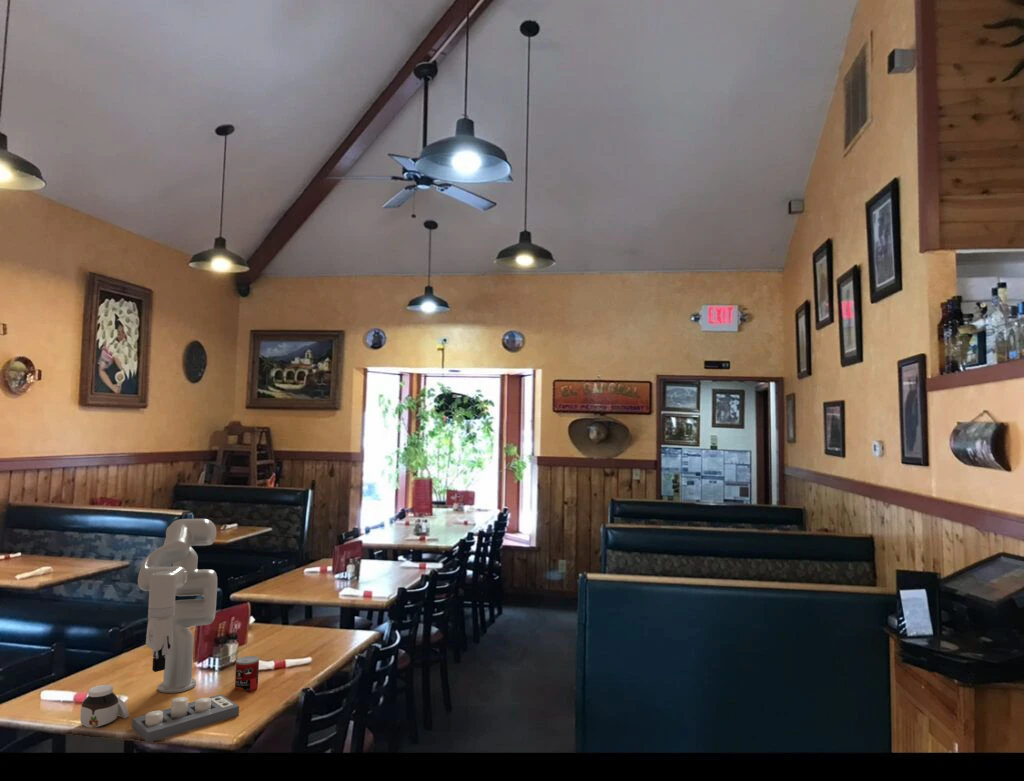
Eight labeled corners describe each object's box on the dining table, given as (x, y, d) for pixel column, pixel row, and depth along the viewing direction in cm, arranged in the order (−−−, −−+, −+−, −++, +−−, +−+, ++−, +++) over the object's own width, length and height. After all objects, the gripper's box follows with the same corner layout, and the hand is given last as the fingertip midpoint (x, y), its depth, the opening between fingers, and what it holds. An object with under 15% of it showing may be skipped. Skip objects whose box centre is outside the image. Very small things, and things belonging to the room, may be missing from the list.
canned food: (230, 691, 243) (231, 661, 244) (246, 684, 250) (247, 654, 251) (246, 695, 240) (247, 664, 241) (262, 687, 247) (263, 657, 248)
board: (131, 731, 210) (132, 717, 210) (220, 706, 230) (221, 693, 231) (147, 746, 200) (148, 731, 201) (238, 718, 221) (239, 704, 221)
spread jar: (75, 729, 211) (77, 691, 211) (102, 714, 222) (104, 679, 223) (108, 733, 209) (110, 695, 209) (134, 718, 220) (136, 681, 220)
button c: (142, 730, 208) (143, 713, 208) (158, 725, 212) (159, 709, 212) (148, 735, 205) (148, 718, 205) (164, 730, 208) (165, 713, 209)
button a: (192, 715, 219) (192, 700, 219) (206, 711, 222) (207, 696, 223) (197, 720, 216) (198, 704, 216) (212, 716, 219) (213, 700, 219)
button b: (168, 715, 214) (169, 699, 214) (183, 711, 217) (184, 695, 217) (173, 720, 210) (174, 704, 211) (189, 715, 214) (190, 700, 214)
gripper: (140, 608, 214) (137, 667, 213) (157, 618, 203) (154, 680, 202) (165, 604, 219) (162, 661, 218) (182, 614, 209) (180, 673, 208)
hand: (158, 670), depth 210 cm, fingers closed
